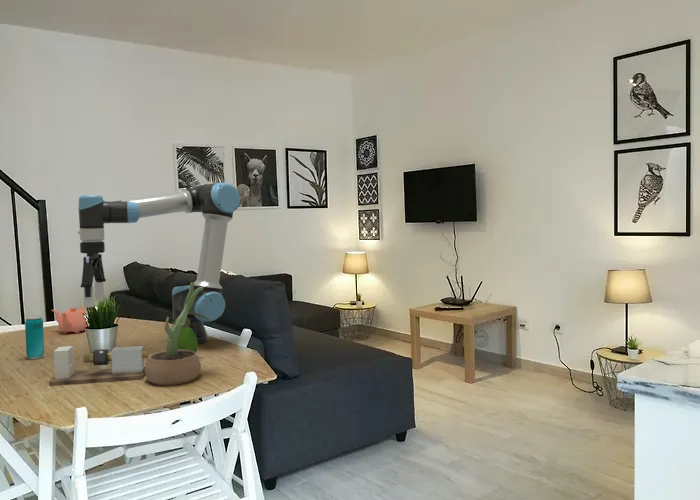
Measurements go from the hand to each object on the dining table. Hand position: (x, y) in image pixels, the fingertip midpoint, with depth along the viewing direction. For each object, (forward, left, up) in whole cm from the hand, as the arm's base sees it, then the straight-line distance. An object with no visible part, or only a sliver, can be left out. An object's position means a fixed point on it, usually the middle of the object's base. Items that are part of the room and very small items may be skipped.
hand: (94, 303), depth 192 cm
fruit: (-29, -4, -22) cm, 37 cm away
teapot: (+24, -67, -22) cm, 74 cm away
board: (-4, +14, -22) cm, 26 cm away
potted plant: (-29, +20, -22) cm, 42 cm away
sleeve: (-12, +14, -20) cm, 28 cm away
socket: (+7, +14, -22) cm, 27 cm away
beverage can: (+25, -19, -22) cm, 38 cm away
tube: (-9, +14, -18) cm, 24 cm away
